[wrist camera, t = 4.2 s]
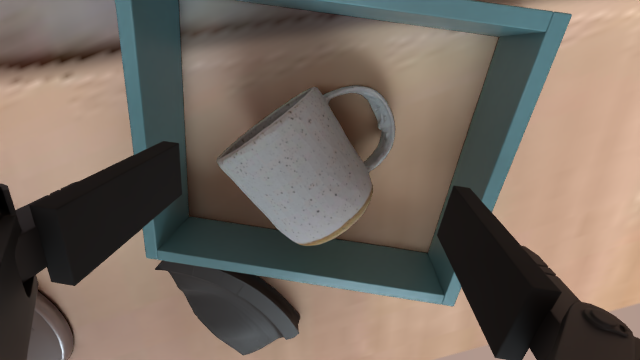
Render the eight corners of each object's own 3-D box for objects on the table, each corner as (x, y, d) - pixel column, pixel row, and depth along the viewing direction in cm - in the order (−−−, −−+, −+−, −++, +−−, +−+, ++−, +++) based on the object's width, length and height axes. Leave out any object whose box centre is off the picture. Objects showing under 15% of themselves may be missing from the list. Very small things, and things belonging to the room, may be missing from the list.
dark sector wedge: (210, 221, 27) (202, 231, 25) (305, 318, 30) (303, 332, 29) (150, 264, 29) (140, 276, 28) (244, 349, 33) (240, 364, 31)
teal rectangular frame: (179, 223, 27) (145, 258, 22) (164, -26, 20) (108, -50, 15) (435, 262, 26) (453, 307, 22) (518, 23, 19) (573, 13, 14)
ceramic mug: (301, 215, 26) (286, 277, 18) (237, 138, 23) (192, 174, 16) (413, 146, 23) (446, 188, 16) (353, 50, 20) (359, 48, 13)
